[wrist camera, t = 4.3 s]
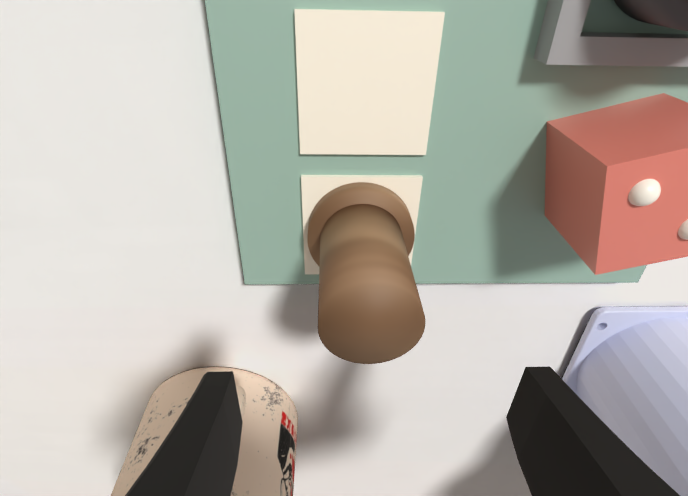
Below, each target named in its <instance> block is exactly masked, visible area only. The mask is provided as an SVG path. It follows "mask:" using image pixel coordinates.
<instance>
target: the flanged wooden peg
mask: <svg viewBox="0 0 688 496" xmlns="http://www.w3.org/2000/svg"><path fill="white" fill-rule="evenodd" d="M414 238H415V232H414V226H413V222H412V219H411V216H410V213H409V210H408V208H407V206H406V204H405V203H404V201H403V200H402V199H401V198H400V197H399V196H398V195H397V194H396V193H394V192H393V191H391V190H390V189H388V188H386V187H384V186H381V185H378V184H374V183H367V182H356V183H349V184H345V185H342V186H340V187H337V188H335V189H333V190H331V191H330V192H328V193H327V194H326V195H324V196H323V197H322V198H321V199H320V200H319V201H318V203H317V204H316V205H315V207H314V208H313V210H312V212H311V215H310V218H309V223H308V236H307V242H308V248H309V252H310V254H311V256H312V258H313V260H314V261H315V262H316V264H317V265H318V266H319V304H318V333H319V337H320V339H321V341H322V343H323V344H324V346H325V347H326V348H327V349H328V350H329V351H330V352H331V353H333V354H334V355H336V356H338V357H339V358H342V359H344V360H347V361H350V362H354V363H361V364H375V363H382V362H386V361H390V360H393V359H395V358H398V357H400V356H402V355H403V354H405V353H407V352H408V351H409V350H411V349H412V348H413V347H414V346H415V345H416V344H417V343H418V341H419V340H420V338H421V337H422V334H423V332H424V328H425V316H424V312H423V308H422V305H421V301H420V297H419V294H418V290H417V286H416V283H415V279H414V275H413V272H412V268H411V264H410V261H409V257H408V256H409V254H410V253H411V250H412V248H413V244H414Z"/></svg>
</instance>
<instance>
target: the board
mask: <svg viewBox="0 0 688 496" xmlns="http://www.w3.org/2000/svg"><path fill="white" fill-rule="evenodd" d="M205 6H206V13H207V20H208V27H209V34H210V41H211V48H212V55H213V62H214V69H215V77H216V84H217V91H218V98H219V105H220V112H221V119H222V126H223V133H224V140H225V147H226V154H227V162H228V169H229V176H230V183H231V190H232V197H233V204H234V211H235V218H236V225H237V232H238V240H239V247H240V254H241V261H242V268H243V275H244V282H245V284H319V266H318V265H317V264H316V262H315V261H314V260H313V258H312V256H311V254H310V252H309V248H308V242H307V236H308V223H309V218H310V215H311V212H312V210H313V208H314V207H315V205H316V204H317V203H318V201H319V200H320V199H321V198H322V197H323V196H324V195H326V194H327V193H328V192H330V191H331V190H333V189H335V188H337V187H340V186H342V185H345V184H349V183H356V182H367V183H374V184H378V185H381V186H384V187H386V188H388V189H390V190H391V191H393V192H394V193H396V194H397V195H398V196H399V197H400V198H401V199H402V200H403V201H404V203H405V204H406V206H407V208H408V210H409V213H410V216H411V219H412V222H413V226H414V232H415V238H414V244H413V248H412V250H411V253H410V254H409V256H408V257H409V261H410V264H411V268H412V272H413V275H414V279H415V283H416V284H430V283H628V282H638V281H639V279H640V277H641V275H642V274H643V272H644V270H645V268H646V266H647V265H642V266H638V267H633V268H628V269H623V270H618V271H613V272H608V273H603V274H598V275H595V274H594V273H593V272H592V271H591V270H590V268H589V267H588V266H587V265H586V264H585V262H584V261H583V260H582V259H581V258H580V257H579V255H578V254H577V253H576V252H575V251H574V249H573V248H572V247H571V246H570V245H569V244H568V242H567V241H566V240H565V239H564V238H563V236H562V235H561V234H560V233H559V232H558V231H557V229H556V228H555V227H554V226H553V225H552V224H551V222H550V221H549V220H548V219H547V218H546V216H545V174H546V130H547V121H551V120H555V119H559V118H563V117H567V116H571V115H575V114H580V113H584V112H588V111H592V110H596V109H600V108H604V107H608V106H612V105H617V104H621V103H625V102H629V101H633V100H637V99H641V98H645V97H650V96H654V95H658V94H662V93H665V94H668V95H670V96H673V97H675V98H678V99H680V100H683V101H685V102H688V31H683V30H678V29H673V28H668V27H663V26H658V25H653V24H648V23H644V22H641V21H637V20H635V19H633V18H631V17H629V16H628V15H627V14H625V13H624V12H623V11H622V10H621V9H620V8H619V7H618V6H617V5H616V3H615V2H614V0H205Z"/></svg>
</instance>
